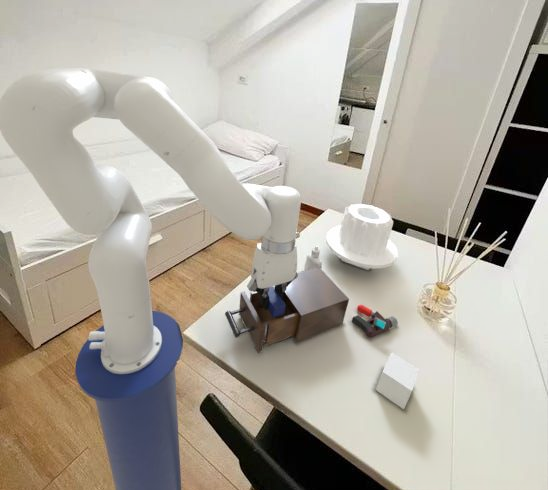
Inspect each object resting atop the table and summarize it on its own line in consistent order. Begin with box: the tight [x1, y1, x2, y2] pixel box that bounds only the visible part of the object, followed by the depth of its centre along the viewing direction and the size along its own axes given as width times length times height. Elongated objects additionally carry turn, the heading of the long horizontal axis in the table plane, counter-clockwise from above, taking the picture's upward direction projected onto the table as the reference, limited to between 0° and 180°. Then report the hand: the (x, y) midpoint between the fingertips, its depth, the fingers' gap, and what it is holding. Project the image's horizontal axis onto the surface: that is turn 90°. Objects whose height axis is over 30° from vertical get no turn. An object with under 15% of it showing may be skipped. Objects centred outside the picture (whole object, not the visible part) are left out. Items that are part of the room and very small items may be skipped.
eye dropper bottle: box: [303, 245, 323, 271], centre depth 93 cm, size 4×6×12 cm
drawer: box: [224, 286, 299, 353], centre depth 73 cm, size 18×12×7 cm
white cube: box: [375, 351, 420, 410], centre depth 63 cm, size 6×6×6 cm
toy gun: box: [351, 304, 399, 339], centre depth 80 cm, size 10×12×5 cm
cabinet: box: [284, 267, 350, 343], centre depth 79 cm, size 15×14×9 cm
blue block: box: [259, 286, 286, 318], centre depth 71 cm, size 8×3×3 cm, turn 27°
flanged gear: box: [325, 203, 399, 271], centre depth 103 cm, size 25×25×19 cm
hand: (270, 302), depth 72 cm, fingers closed on blue block, 3 cm apart
